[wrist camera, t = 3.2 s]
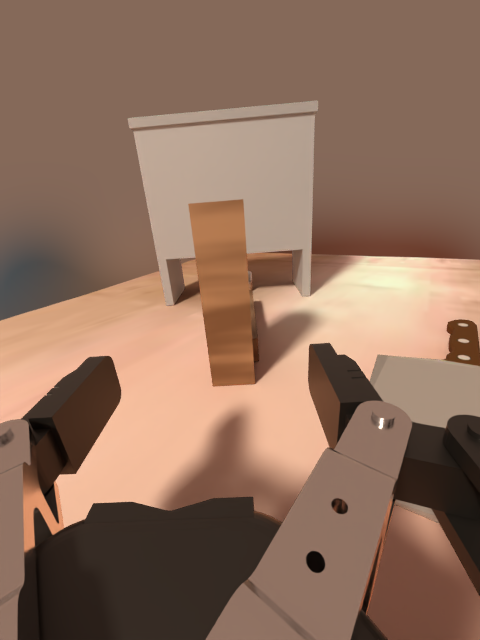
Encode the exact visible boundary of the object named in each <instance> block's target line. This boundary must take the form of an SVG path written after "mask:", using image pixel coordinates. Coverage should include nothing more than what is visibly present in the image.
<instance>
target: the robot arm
mask: <svg viewBox="0 0 480 640" xmlns="http://www.w3.org/2000/svg"><path fill="white" fill-rule="evenodd" d="M308 382H309V389H310V393H311V396H312V399H313V402H314V405H315V408H316V410H317V413H318V416H319V419H320V422H321V424H322V427H323V430H324V433H325V436H326V438H327V441H328V444H329V447H330V448H327V449H326V450H325V451H324V452H323V454H322V456H321V457H320V459H319V461H318V463H317V464H316V466H315V468H314V469H313V471H312V473H311V475H310V476H309V478H308V480H307V481H306V483H305V485H304V487H303V488H302V490H301V492H300V494H299V495H298V497H297V499H296V500H295V502H294V504H293V506H292V507H291V509H290V511H289V512H288V514H287V516H286V518H285V519H284V521H283V523H282V522H281V521H279V520H277V519H275V518H273V517H271V516H269V515H266V514H264V513H261V512H257V511H254V502H253V497H236V498H213V499H210V500H206V501H203V502H200V503H196V504H193V505H190V506H186V507H183V508H179V509H176V510H172V511H167V510H162V509H158V508H154V507H150V506H146V505H142V504H138V503H134V502H117V503H94V504H93V505H92V507H91V509H90V511H89V513H88V515H87V517H86V519H85V520H82V521H79V522H77V523H74V524H72V525H70V526H68V527H66V528H64V524H63V517H62V510H61V504H60V497H59V490H58V486H57V484H56V481H55V480H56V479H57V477H58V476H59V475H60V474H76V472H77V471H78V469H79V468H80V466H81V464H82V463H83V461H84V459H85V458H86V456H87V455H88V453H89V451H90V450H91V448H92V446H93V445H94V443H95V442H96V440H97V438H98V437H99V435H100V433H101V432H102V430H103V428H104V427H105V425H106V424H107V422H108V420H109V419H110V417H111V415H112V414H113V412H114V411H115V409H116V407H117V406H118V404H119V402H120V399H121V387H120V384H119V380H118V377H117V373H116V370H115V366H114V363H113V360H112V358H111V357H110V356H99V357H89V358H87V359H86V360H85V361H84V362H83V363H82V364H81V365H80V366H79V367H78V368H77V369H76V370H75V371H73V372H72V373H70V374H68V375H67V376H65V377H64V378H62V379H61V380H60V381H59V382H58V383H57V384H56V385H55V386H54V388H52V389H51V390H50V391H49V392H48V393H47V396H44V397H43V398H42V399H41V400H40V401H39V402H38V403H37V404H36V405H35V406H34V407H33V408H32V409H31V410H30V411H29V412H28V413H27V414H26V415H25V416H24V417H23V418H22V419H17V420H10V421H7V422H4V423H1V424H0V640H388V639H387V638H386V637H385V636H384V634H383V633H382V632H381V631H380V630H379V629H378V627H377V626H376V625H375V624H374V623H373V621H372V620H371V619H370V618H369V617H368V616H367V612H368V608H369V605H370V601H371V597H372V593H373V589H374V585H375V581H376V577H377V572H378V568H379V564H380V560H381V556H382V552H383V548H384V544H385V541H386V537H387V533H388V529H389V525H390V522H391V518H392V514H393V510H394V506H395V503H396V500H400V501H404V502H408V503H412V504H415V505H419V506H423V507H427V508H431V509H432V511H433V512H434V514H435V516H436V518H437V520H438V521H439V523H440V525H441V527H442V529H443V530H444V532H445V534H446V536H447V538H448V539H449V541H450V543H451V545H452V547H453V548H454V550H455V552H456V554H457V556H458V557H459V559H460V561H461V563H462V565H463V566H464V568H465V570H466V572H467V574H468V576H469V577H470V579H471V581H472V583H473V585H474V586H475V588H476V590H477V592H478V594H479V595H480V417H477V416H473V415H455V416H453V417H451V418H450V419H449V420H448V422H447V425H446V428H443V427H437V426H431V425H425V424H420V423H416V422H412V421H411V419H410V417H409V416H408V415H407V414H406V413H405V412H404V411H403V410H402V409H400V408H399V407H397V406H395V405H393V404H390V403H387V402H384V401H383V400H382V398H381V397H380V396H379V394H378V393H377V391H376V390H375V389H374V387H373V386H372V384H371V383H370V382H369V380H368V379H367V378H366V376H365V375H364V373H363V372H362V371H361V369H360V367H359V366H358V365H357V363H356V362H355V361H354V360H352V359H351V358H349V357H348V356H346V355H337V354H336V352H335V350H334V349H333V347H332V346H331V344H330V343H321V344H310V346H309V370H308Z"/></svg>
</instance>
